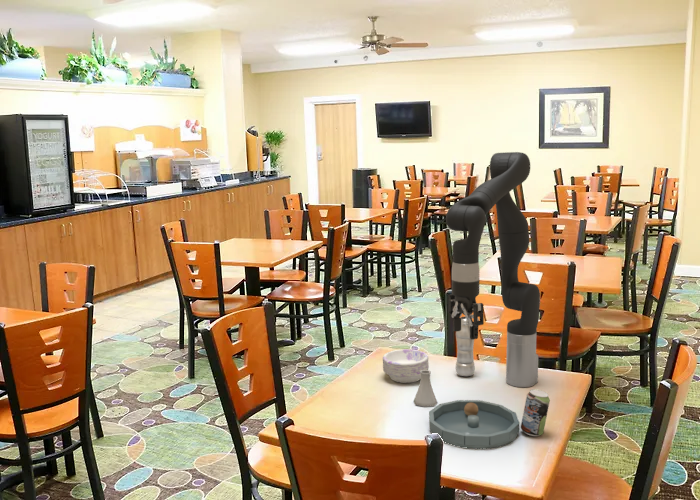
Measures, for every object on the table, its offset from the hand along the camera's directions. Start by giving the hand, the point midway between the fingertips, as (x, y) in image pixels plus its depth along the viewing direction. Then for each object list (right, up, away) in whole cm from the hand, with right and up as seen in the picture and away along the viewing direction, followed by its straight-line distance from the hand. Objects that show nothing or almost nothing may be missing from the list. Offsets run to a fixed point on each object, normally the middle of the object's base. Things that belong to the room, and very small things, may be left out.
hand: (465, 334), depth 188 cm
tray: (+2, -26, -2) cm, 26 cm away
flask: (-9, -23, +17) cm, 30 cm away
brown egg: (+2, -24, +4) cm, 24 cm away
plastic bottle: (+7, -19, +40) cm, 45 cm away
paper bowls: (-13, -20, +38) cm, 45 cm away
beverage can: (+18, -26, -5) cm, 32 cm away
